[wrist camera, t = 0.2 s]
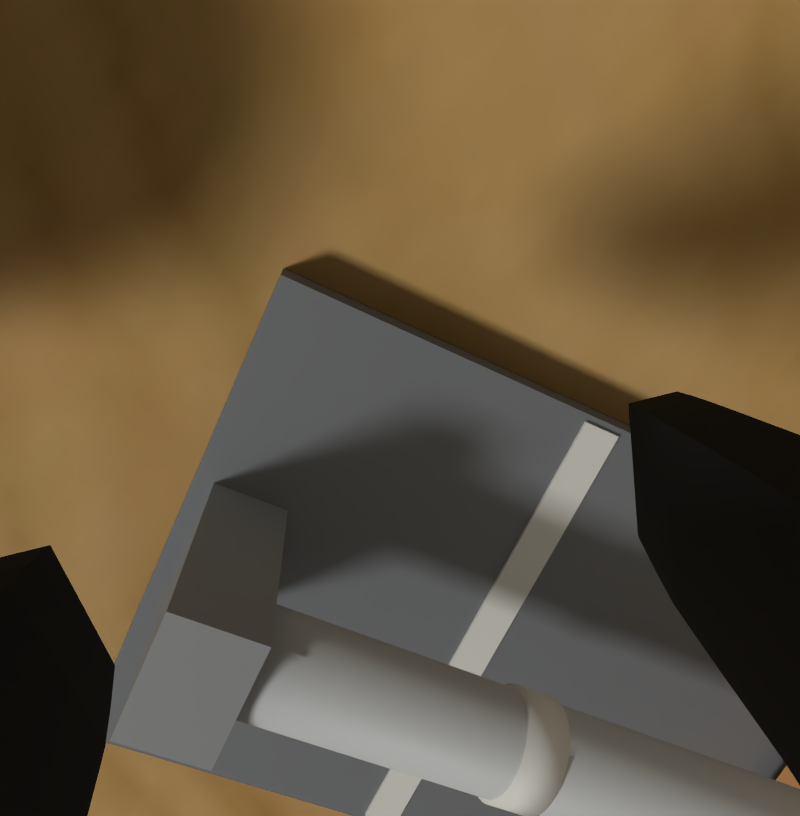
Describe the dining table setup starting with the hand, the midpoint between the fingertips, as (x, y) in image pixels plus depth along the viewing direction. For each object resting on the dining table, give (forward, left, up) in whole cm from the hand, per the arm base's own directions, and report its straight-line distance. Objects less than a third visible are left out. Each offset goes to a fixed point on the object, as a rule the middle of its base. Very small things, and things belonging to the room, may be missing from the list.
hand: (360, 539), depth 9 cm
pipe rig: (-6, -14, -11) cm, 18 cm away
